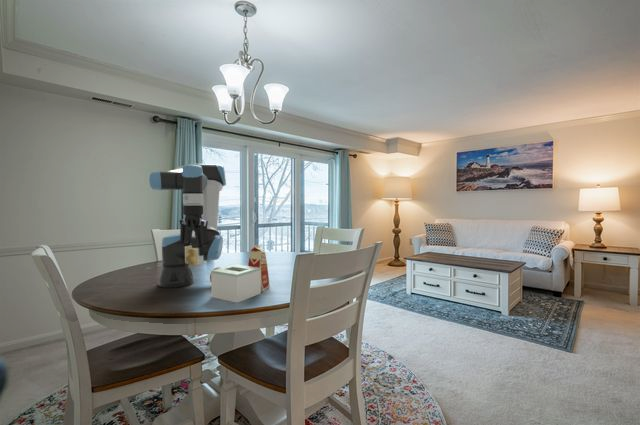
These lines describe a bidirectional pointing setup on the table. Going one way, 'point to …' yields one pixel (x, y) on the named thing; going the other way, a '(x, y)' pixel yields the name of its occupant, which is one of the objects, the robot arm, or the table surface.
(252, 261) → the milk carton
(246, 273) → the coin box
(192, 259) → the cardboard box
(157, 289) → the table surface
